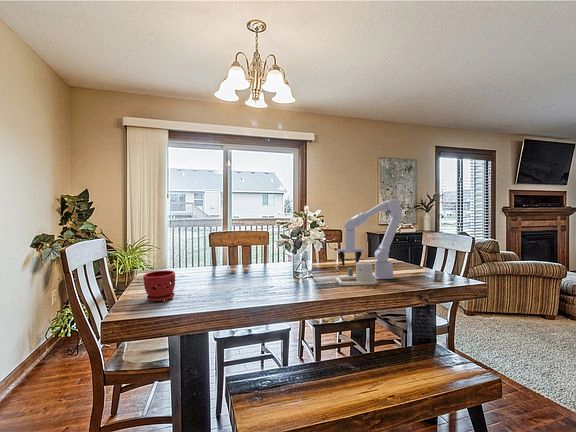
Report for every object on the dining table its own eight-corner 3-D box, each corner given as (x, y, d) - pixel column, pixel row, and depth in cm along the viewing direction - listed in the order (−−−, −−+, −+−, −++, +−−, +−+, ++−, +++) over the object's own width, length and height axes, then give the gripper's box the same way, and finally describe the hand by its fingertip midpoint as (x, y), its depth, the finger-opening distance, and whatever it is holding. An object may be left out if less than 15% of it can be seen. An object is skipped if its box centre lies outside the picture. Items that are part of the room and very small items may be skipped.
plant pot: (152, 295, 152) (151, 270, 152) (180, 295, 152) (179, 270, 151) (138, 304, 139) (137, 276, 139) (168, 304, 139) (168, 276, 138)
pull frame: (366, 275, 186) (366, 267, 186) (378, 284, 167) (378, 274, 166) (332, 276, 185) (332, 268, 185) (341, 285, 165) (340, 275, 165)
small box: (371, 281, 174) (371, 261, 174) (372, 284, 168) (372, 263, 168) (355, 281, 175) (355, 261, 174) (357, 283, 169) (356, 263, 169)
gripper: (360, 240, 188) (360, 263, 188) (335, 240, 187) (335, 264, 187) (364, 241, 181) (364, 265, 181) (338, 242, 180) (338, 266, 180)
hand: (350, 265), depth 184 cm, fingers open, 7 cm apart
